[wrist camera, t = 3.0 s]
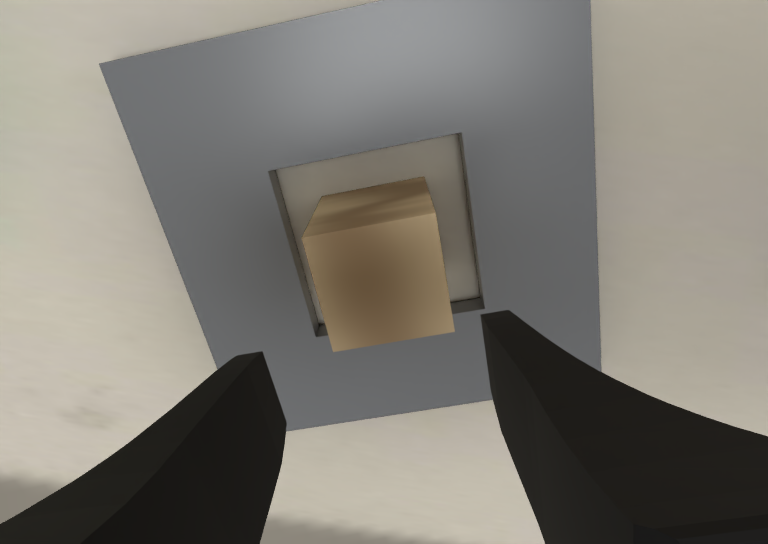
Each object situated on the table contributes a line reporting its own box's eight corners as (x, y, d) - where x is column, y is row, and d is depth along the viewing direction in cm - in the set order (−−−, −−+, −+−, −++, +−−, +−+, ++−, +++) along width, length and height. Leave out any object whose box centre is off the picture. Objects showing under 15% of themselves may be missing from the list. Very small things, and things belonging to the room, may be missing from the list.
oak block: (424, 176, 19) (435, 213, 14) (439, 270, 20) (455, 331, 16) (322, 196, 19) (301, 238, 15) (345, 287, 21) (333, 352, 16)
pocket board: (577, -40, 16) (588, -47, 15) (592, 369, 22) (601, 382, 21) (114, 63, 17) (98, 63, 16) (250, 423, 23) (244, 437, 22)
